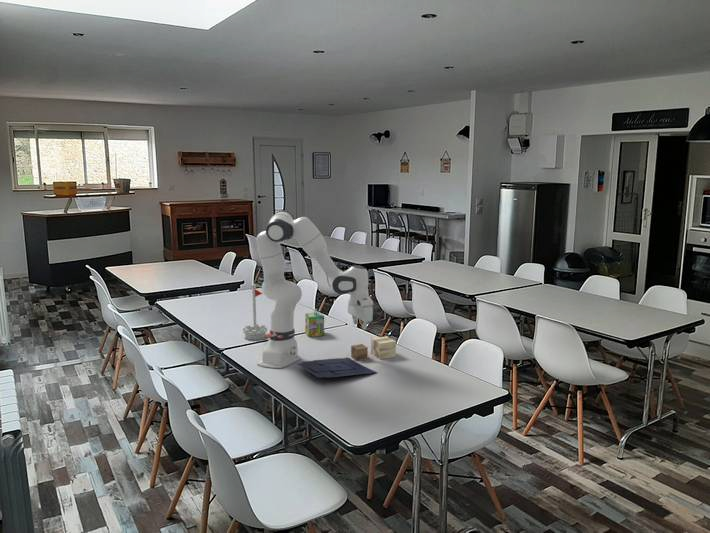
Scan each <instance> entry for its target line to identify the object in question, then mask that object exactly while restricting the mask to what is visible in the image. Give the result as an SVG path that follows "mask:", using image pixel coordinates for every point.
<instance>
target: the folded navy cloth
mask: <svg viewBox="0 0 710 533" xmlns="http://www.w3.org/2000/svg"><path fill="white" fill-rule="evenodd" d="M296 365H297V366H299V367H301V368H302V369H304V370H305V371H307V372H309V373H310V374H312V375H314V377H317V378H318V379H319V378H326V379H328V378H340V377H347V376H356V375H357V376H358V375H366V374H367V375H368V374H369V375H370V374H376V373H377V371H374V370H373V369H370V368H368V367H367V366H364V365H363V364H361V363H359V362H357V361H356V360H354V359H353V358H351V357H341V358H340V357H339V358H337V357H336V358H325V359H316V360H307V361H301V362H300V363H296Z"/></svg>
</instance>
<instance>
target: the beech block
mask: <svg viewBox="0 0 710 533" xmlns="http://www.w3.org/2000/svg"><path fill="white" fill-rule="evenodd" d="M370 342H371V343H370V344H371V345H370V354H371V355H372V356H374V357H376V358H377V359H379V360H384V359H389V358H394V357H395V358H396V356H397V345H396V344H397V341H396V340H394V339H392V338H391V337H389V336H387V335H386V336H380V337H373V338H371V339H370Z"/></svg>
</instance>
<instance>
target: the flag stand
mask: <svg viewBox="0 0 710 533" xmlns="http://www.w3.org/2000/svg"><path fill="white" fill-rule="evenodd" d="M250 288H251V290H252V292H251V294H252V313H253V314H252V318H253V320H252V321H253V326H251V324H248V325H245V326H243V328H242V332H243V334H244V335H245V338H246V340H261V339H264V338H266V333H267V332H268V326H266V324H261V325H259V324H258V323H257V305H256V304H257V303H256V302H257V300H256V299H257V297H258V296H260V295H262V294H263V292H262V291H259V290H258V289H256V288H257V285H256V284H255V283H251V286H250ZM263 295H264V294H263Z"/></svg>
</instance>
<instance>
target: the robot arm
mask: <svg viewBox="0 0 710 533" xmlns="http://www.w3.org/2000/svg"><path fill="white" fill-rule="evenodd" d="M292 238H293V239H295V241H297V243H298V245H299V246H300V247H301V248H302V250H303V251H304V252H305V253H306V254H307V255H308V256H309V257H310V258H312V259H314V261H317V264H318V265H319V266H320V268H321V269H322V271H323V272H324V273H325V276H326V281H327V284H328V286H329V287H330V288H331V289H332V291H334V292H335V293H336V294H339V295H346V294H349V296H350V297H349V299H348V302H347V312H348V314H350V315H351V318H352V321H353V322H352V323H353V324H354V325H358V324H359V322H358V319H359V320H360V321H362V325H361V329H362V330H367V325H368V324H369V323H371V322H373V319H374V318H373V316H374V315H373V314H374V308H373V306H374V300H372V298H371V297H370V295H369V292H370V291H369V289H368V287H369V273H368V270H367V268H366V267H364V266H362V265H358V264H357V265H355V264H353V265H351V266H350V267H349V268H348V269H346V270H345V271H344V270H343V269H340V268H339V267H338V266H336V264H335V263H334V261H333V259H332V258H331V257H330V255H329V253H328V245H327V242H326V240H325V238H324V236H323V234H322V233H321V231H320V229H318V227H317V226H316V225H315V223H314V222H312V221H311V219H309V218H308V217H307V216H300V217H298V218H295V217H294V215H293V214H292V213H291V212H290V211H288V210H286V209H285V210H279V211H277V212H275V213H274V215H272V216H271V217H270V218H269V221H268V222H267V224H266V227H265V230H263V231H261V232H259V233H258V234H257V235H256V238H255V240H256V250H257V254H258V257H259V260H260V264H261V268H262V272H263V282H262V284H261V293H263V295H264V296H265V297H266V298H268V299H269V300H271V301H275V304H274V305H275V306H274V308H273V309H274V310H272V312H271V313H270V330H269V332H268V333H267V334H266V337H267V338H269V339H268V340H267V343H266V344H265V347H264V348H263V350H262V353H261V355H262V357H261V358H260V359H259V360H258V362H257V365H258V366H259V367H264V368H271V369H272V368H273V369H282V368H286V367H287V366H289V365H291V364H293V363H296V362H298V361H299V360H301V359H302V357H301V356H300V355H299V346H298V342H297V340H296V338H295V335H296V331H295V328H294V327H295V326H294V323H295V322H294V316H295V315H294V314H295V308H296V306H297V304H298V303H299V302H300V301H301V299H302V296H303V292H302V288H301V286H299V285H298V284H296V283H295V282H293V281H290V280H286V278H285V274H284V273H285V270H286V268H287V264H286V263H287V262H286V259H285V256H284V252H283V249H282V247H281V242H283V241H287V240H291V239H292Z"/></svg>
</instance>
